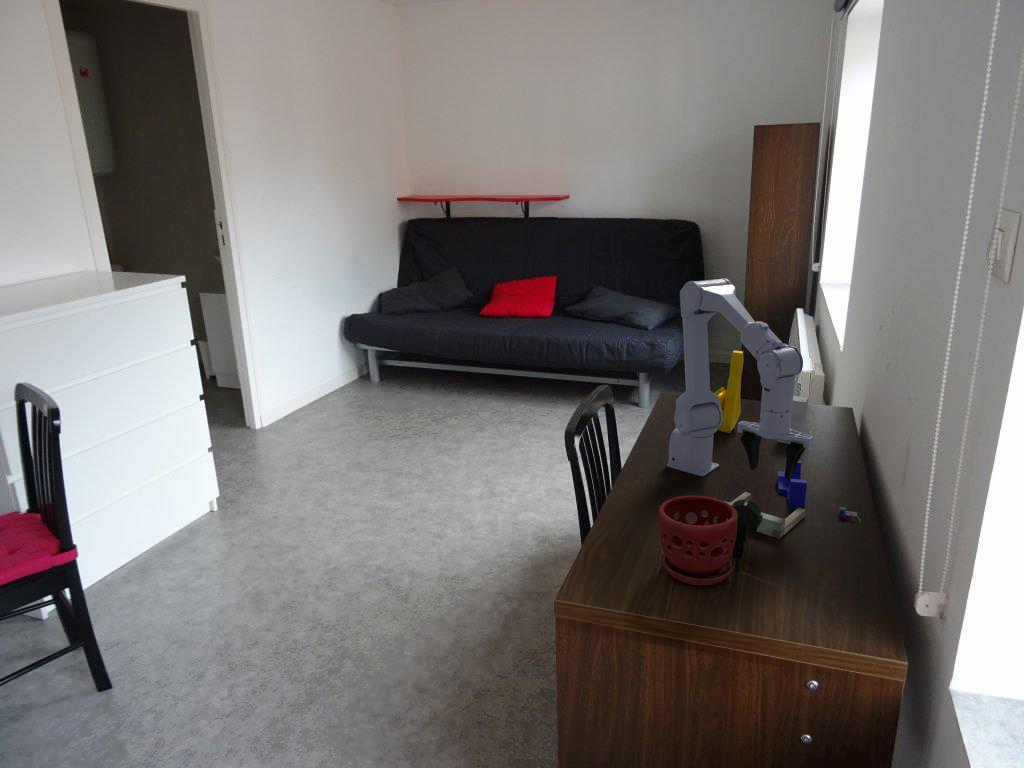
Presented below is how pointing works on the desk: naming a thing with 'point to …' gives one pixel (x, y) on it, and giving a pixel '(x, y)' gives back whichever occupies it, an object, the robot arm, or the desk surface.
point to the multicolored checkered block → (849, 515)
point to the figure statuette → (731, 394)
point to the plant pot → (698, 539)
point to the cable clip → (793, 487)
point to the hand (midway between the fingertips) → (771, 472)
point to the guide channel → (774, 519)
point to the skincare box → (799, 415)
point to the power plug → (745, 526)
